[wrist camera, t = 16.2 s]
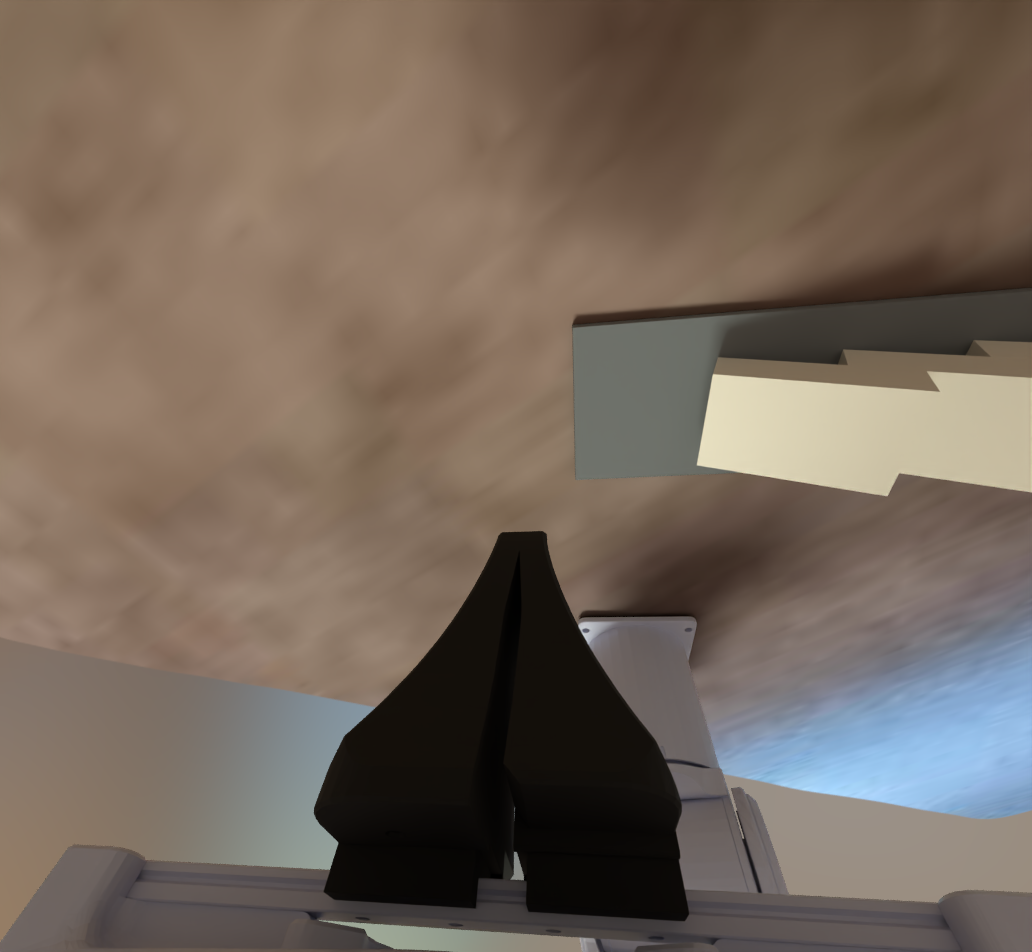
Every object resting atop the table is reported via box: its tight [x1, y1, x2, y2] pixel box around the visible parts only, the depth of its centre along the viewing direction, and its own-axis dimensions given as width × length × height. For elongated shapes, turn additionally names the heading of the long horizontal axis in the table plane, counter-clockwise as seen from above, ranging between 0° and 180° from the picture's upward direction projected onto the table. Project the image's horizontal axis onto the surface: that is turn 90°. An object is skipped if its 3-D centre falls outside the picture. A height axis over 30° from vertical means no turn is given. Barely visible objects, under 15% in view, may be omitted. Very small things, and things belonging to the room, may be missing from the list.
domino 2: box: [838, 349, 1032, 492], centre depth 17 cm, size 4×2×7 cm
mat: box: [572, 288, 1032, 480], centre depth 19 cm, size 8×30×1 cm, turn 95°
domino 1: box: [697, 357, 940, 496], centre depth 17 cm, size 4×2×7 cm
